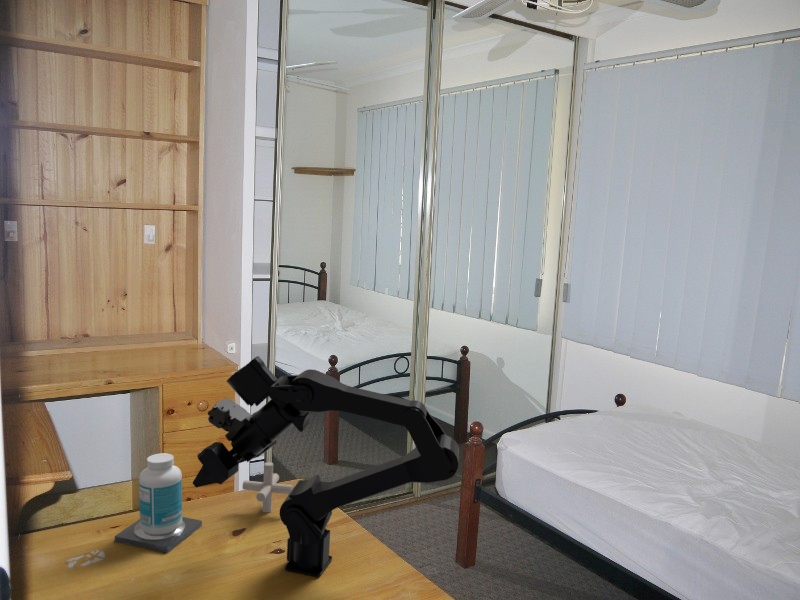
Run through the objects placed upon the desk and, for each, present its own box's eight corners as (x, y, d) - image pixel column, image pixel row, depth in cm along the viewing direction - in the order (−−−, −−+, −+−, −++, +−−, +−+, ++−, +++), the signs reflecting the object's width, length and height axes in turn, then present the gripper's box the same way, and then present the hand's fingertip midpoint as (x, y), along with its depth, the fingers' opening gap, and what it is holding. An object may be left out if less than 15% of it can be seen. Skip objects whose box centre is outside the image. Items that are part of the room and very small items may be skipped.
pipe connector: (297, 502, 141) (299, 457, 139) (284, 524, 131) (286, 475, 129) (250, 497, 142) (252, 452, 140) (234, 519, 132) (236, 470, 130)
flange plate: (201, 525, 128) (202, 519, 128) (167, 553, 118) (167, 546, 118) (152, 515, 131) (152, 509, 131) (114, 541, 120) (114, 535, 120)
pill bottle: (187, 518, 128) (187, 451, 126) (174, 537, 121) (174, 466, 119) (148, 516, 128) (147, 449, 126) (133, 535, 121) (132, 464, 119)
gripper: (263, 375, 124) (209, 424, 128) (209, 402, 106) (148, 457, 111) (300, 422, 123) (244, 469, 128) (253, 456, 105) (189, 510, 110)
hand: (208, 475), depth 119 cm, fingers open, 9 cm apart
